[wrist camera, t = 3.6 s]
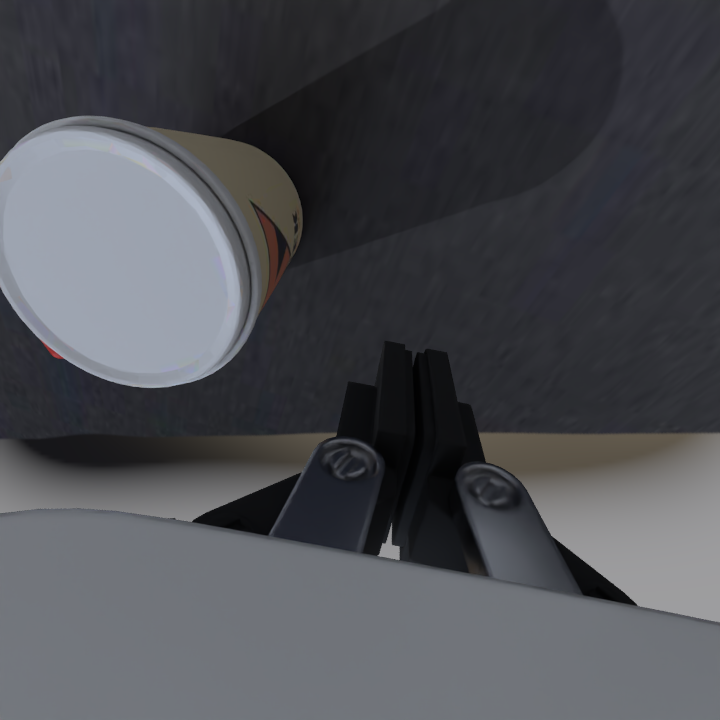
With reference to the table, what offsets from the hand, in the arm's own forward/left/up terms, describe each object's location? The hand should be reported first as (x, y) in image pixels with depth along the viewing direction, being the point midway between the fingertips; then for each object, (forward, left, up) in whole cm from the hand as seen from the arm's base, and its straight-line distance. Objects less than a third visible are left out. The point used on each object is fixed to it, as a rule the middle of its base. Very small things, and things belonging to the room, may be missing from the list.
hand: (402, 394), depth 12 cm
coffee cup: (+10, 0, -15) cm, 18 cm away
